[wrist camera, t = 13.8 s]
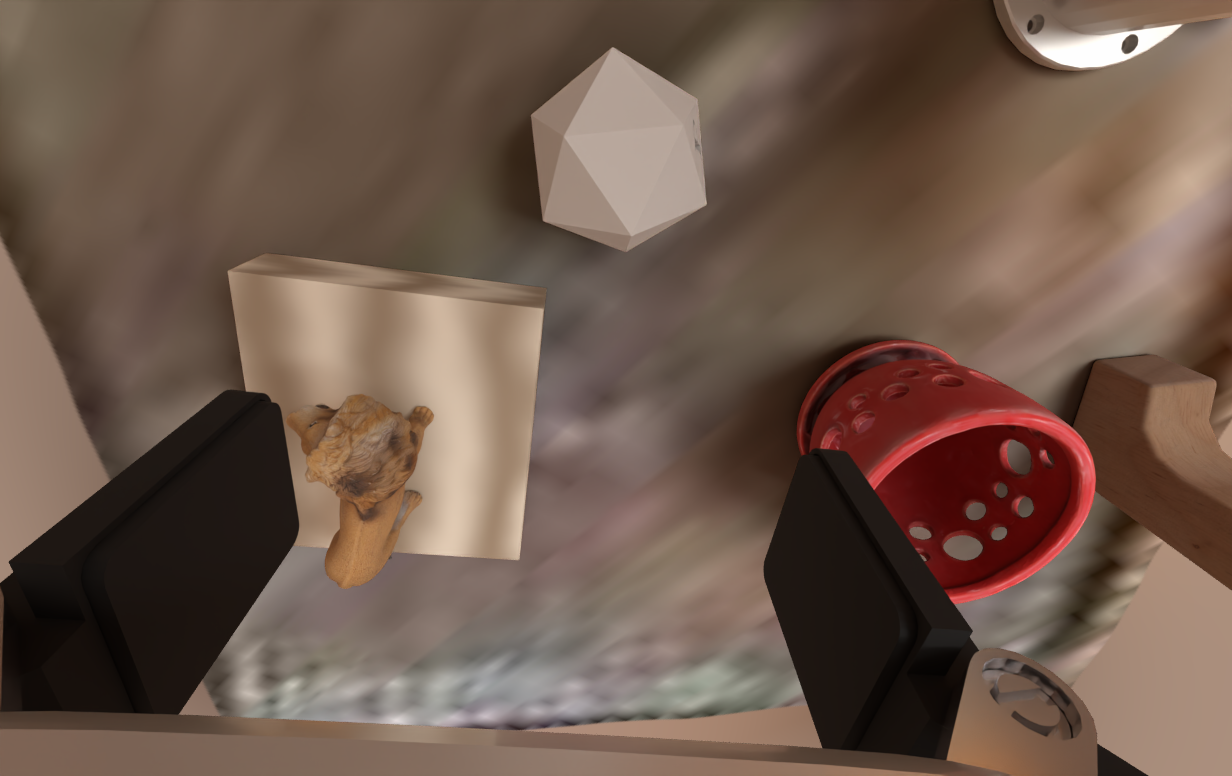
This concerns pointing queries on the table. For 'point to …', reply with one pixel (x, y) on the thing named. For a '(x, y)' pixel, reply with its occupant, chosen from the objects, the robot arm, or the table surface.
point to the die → (619, 153)
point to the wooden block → (1161, 455)
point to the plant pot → (953, 459)
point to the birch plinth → (404, 385)
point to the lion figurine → (362, 477)
